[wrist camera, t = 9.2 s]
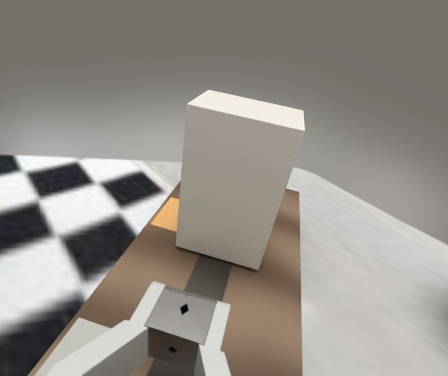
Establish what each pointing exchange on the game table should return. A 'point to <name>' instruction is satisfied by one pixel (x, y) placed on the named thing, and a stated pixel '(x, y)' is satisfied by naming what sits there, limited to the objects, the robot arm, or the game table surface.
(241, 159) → the switch tab
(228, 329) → the switch board
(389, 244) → the game table surface
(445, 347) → the game table surface
